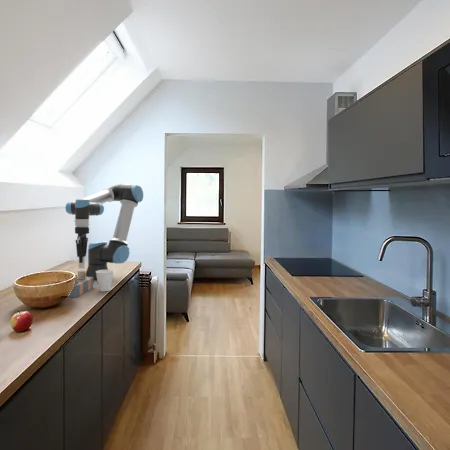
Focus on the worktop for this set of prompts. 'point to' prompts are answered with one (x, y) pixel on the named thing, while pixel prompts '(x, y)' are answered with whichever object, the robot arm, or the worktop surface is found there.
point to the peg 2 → (81, 275)
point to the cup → (104, 279)
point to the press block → (81, 287)
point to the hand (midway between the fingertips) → (81, 268)
